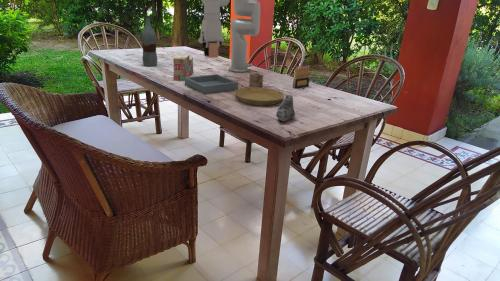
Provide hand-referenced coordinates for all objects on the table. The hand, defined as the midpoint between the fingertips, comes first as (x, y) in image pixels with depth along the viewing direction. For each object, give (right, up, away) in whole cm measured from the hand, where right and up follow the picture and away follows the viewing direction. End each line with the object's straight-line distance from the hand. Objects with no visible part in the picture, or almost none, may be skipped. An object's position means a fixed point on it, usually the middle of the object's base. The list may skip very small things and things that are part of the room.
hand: (211, 54), depth 187 cm
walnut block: (+23, -15, +12) cm, 30 cm away
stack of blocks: (-19, -6, +27) cm, 33 cm away
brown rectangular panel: (+48, -14, +18) cm, 53 cm away
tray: (-1, -16, +7) cm, 17 cm away
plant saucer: (+24, -24, -9) cm, 35 cm away
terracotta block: (0, -1, 0) cm, 1 cm away
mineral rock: (+33, -34, -33) cm, 58 cm away
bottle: (-44, +4, +49) cm, 66 cm away
